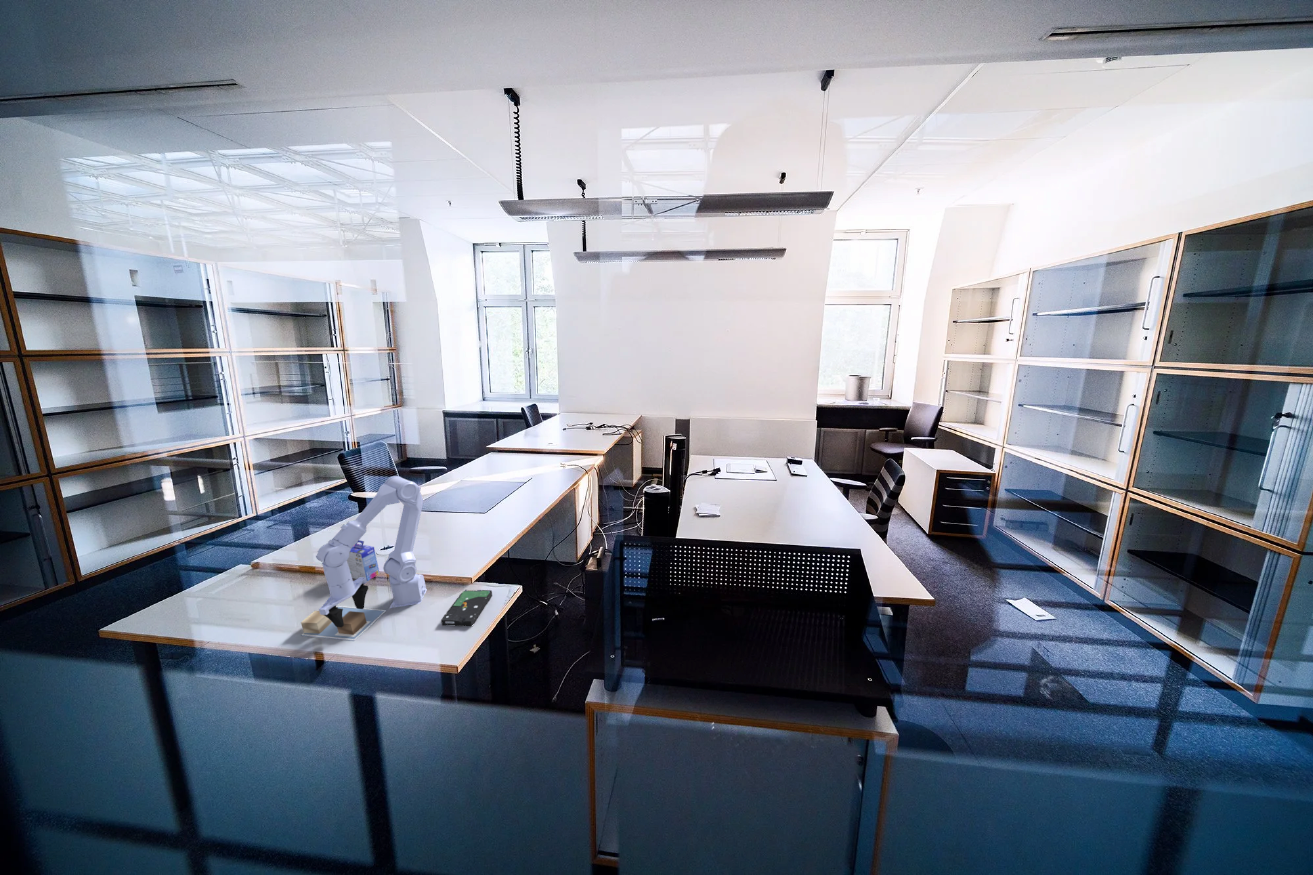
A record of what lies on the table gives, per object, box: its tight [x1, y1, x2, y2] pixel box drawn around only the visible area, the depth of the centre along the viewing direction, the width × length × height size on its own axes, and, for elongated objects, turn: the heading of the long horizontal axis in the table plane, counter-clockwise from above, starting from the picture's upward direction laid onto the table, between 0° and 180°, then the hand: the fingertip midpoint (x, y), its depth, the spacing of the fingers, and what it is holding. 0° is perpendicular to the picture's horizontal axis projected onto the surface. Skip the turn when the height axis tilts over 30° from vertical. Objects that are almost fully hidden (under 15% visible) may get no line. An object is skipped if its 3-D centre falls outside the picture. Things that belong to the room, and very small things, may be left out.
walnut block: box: [337, 611, 367, 635], centre depth 123 cm, size 5×5×4 cm
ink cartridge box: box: [347, 539, 380, 582], centre depth 147 cm, size 10×6×14 cm, turn 74°
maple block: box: [300, 610, 332, 634], centre depth 124 cm, size 5×5×4 cm
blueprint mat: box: [300, 605, 388, 642], centre depth 126 cm, size 18×13×1 cm
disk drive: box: [440, 589, 493, 627], centre depth 133 cm, size 10×3×15 cm
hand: (350, 616), depth 123 cm, fingers open, 7 cm apart
